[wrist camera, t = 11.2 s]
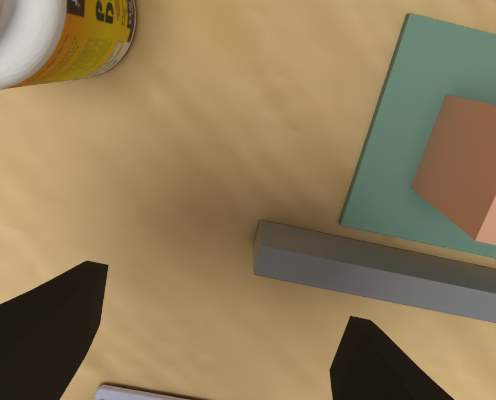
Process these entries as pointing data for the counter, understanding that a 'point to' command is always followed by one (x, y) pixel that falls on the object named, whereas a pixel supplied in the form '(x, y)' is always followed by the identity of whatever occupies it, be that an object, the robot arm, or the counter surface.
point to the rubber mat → (418, 131)
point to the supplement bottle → (62, 39)
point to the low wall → (374, 271)
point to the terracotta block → (462, 167)
